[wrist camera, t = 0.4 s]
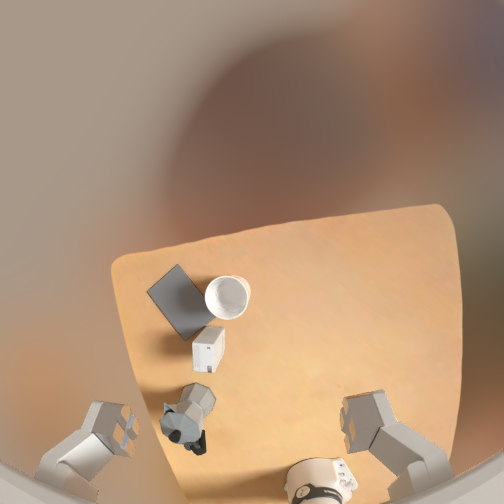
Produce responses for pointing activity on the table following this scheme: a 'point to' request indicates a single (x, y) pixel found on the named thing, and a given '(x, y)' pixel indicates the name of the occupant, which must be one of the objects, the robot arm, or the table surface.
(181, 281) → the mat
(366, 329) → the table surface
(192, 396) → the coffee maker
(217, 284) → the white cup
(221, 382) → the table surface
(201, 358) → the skincare box
